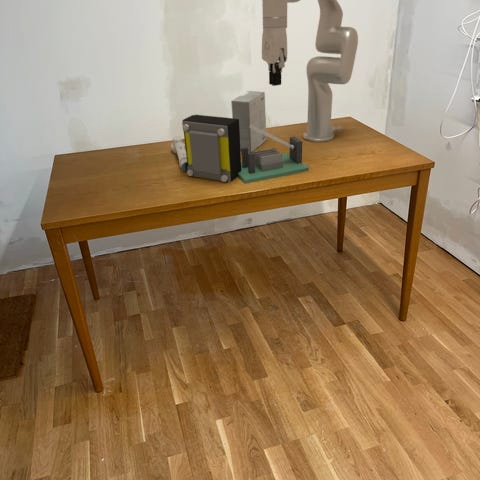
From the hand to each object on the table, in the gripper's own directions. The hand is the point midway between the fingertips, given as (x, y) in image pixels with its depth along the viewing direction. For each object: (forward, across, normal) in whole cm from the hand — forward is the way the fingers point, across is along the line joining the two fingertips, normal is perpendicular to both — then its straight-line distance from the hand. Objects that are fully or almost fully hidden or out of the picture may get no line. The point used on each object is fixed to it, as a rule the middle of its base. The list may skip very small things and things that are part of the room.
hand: (275, 84), depth 152 cm
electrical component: (+30, -4, -22) cm, 37 cm away
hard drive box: (+29, -26, +1) cm, 39 cm away
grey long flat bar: (+18, 0, -1) cm, 18 cm away
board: (+29, 0, -3) cm, 29 cm away
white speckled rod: (+30, -24, -28) cm, 47 cm away
